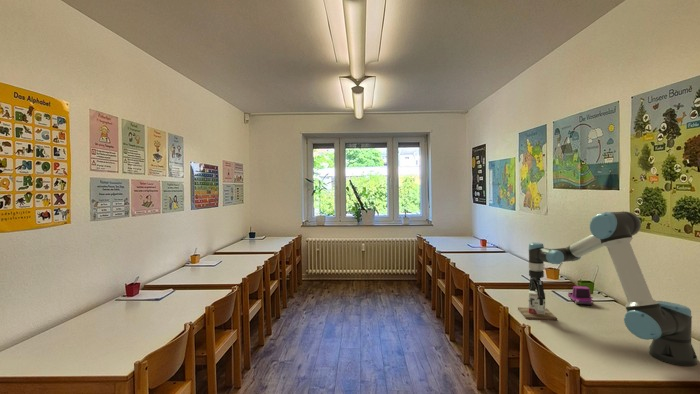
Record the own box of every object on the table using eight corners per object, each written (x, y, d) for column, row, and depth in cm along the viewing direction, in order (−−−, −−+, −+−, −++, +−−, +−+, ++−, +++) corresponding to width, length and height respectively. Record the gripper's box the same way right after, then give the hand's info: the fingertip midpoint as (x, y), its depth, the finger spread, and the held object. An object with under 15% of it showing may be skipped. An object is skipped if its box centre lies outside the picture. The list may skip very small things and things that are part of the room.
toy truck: (575, 305, 218) (575, 289, 218) (566, 298, 233) (566, 282, 233) (595, 306, 216) (594, 290, 215) (585, 298, 231) (584, 283, 231)
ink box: (528, 313, 204) (528, 292, 203) (528, 310, 208) (527, 290, 208) (545, 315, 200) (545, 294, 200) (544, 312, 205) (544, 291, 204)
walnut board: (557, 320, 195) (557, 318, 195) (526, 319, 198) (526, 316, 198) (546, 310, 211) (546, 308, 211) (517, 309, 214) (517, 307, 214)
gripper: (551, 275, 191) (551, 314, 191) (536, 265, 215) (536, 299, 216) (536, 274, 192) (536, 313, 193) (522, 265, 217) (523, 299, 217)
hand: (536, 306), depth 204 cm, fingers open, 13 cm apart
